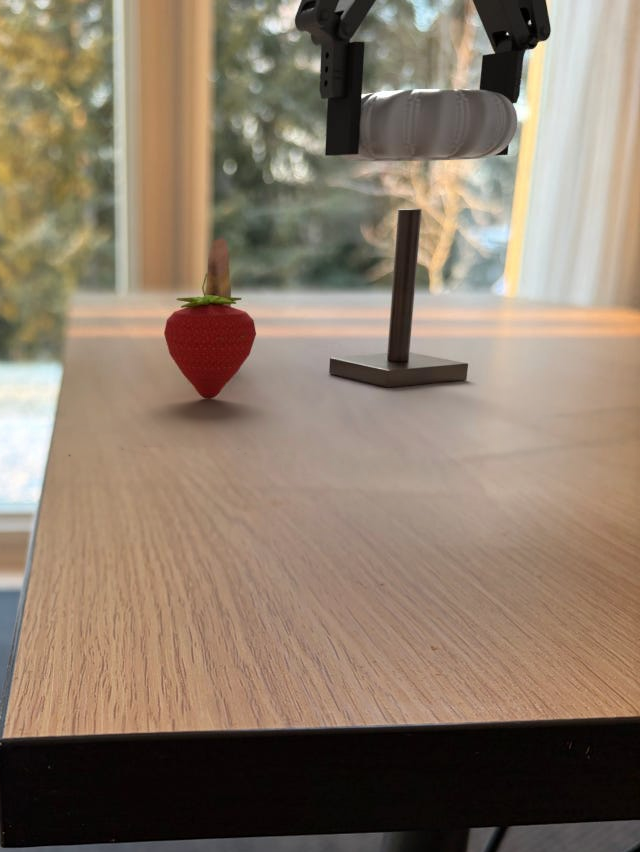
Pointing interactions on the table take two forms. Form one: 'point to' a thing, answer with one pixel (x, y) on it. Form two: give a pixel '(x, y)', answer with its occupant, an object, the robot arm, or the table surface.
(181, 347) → the strawberry
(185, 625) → the table surface
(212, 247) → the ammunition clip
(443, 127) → the ring
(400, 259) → the stand
